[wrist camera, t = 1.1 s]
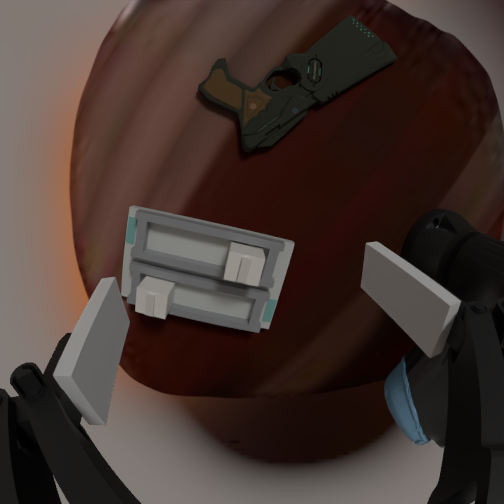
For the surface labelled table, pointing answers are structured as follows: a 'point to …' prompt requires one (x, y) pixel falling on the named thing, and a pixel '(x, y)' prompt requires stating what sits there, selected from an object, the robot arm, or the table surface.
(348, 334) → the table surface
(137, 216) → the switch plate
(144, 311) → the tab
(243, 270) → the tab
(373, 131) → the table surface
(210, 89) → the firearm
